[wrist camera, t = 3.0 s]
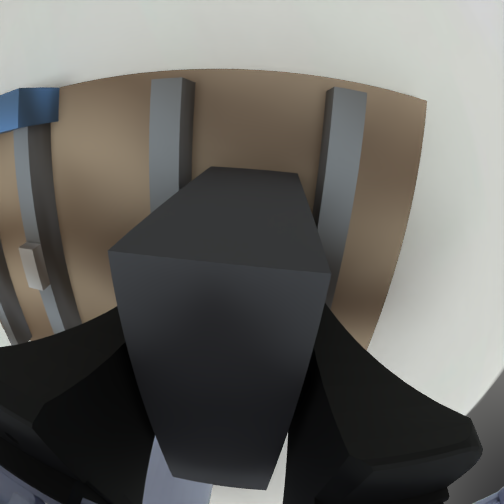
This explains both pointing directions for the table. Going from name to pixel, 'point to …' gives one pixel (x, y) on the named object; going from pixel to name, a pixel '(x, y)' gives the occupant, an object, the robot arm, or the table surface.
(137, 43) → the table surface
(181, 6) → the table surface
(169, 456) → the dark grey tall block
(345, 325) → the board
